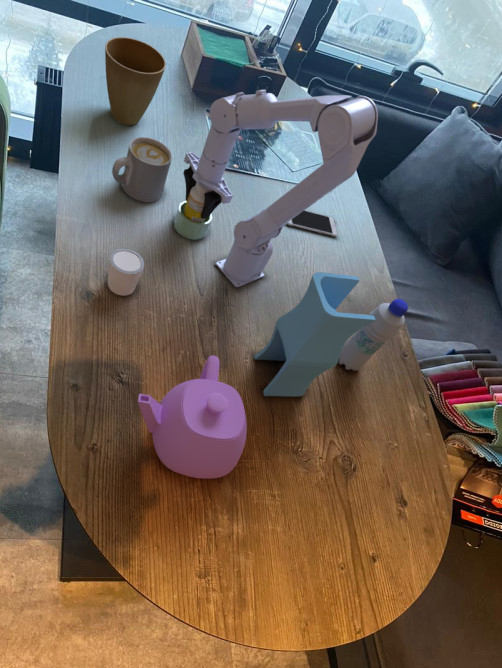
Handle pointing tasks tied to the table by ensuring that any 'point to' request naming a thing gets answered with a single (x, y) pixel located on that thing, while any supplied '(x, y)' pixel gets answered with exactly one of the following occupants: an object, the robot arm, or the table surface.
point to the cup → (190, 224)
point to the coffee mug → (144, 169)
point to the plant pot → (131, 77)
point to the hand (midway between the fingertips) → (197, 208)
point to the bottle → (373, 334)
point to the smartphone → (314, 223)
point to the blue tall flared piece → (312, 334)
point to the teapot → (198, 425)
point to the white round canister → (124, 271)
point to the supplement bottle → (196, 202)
